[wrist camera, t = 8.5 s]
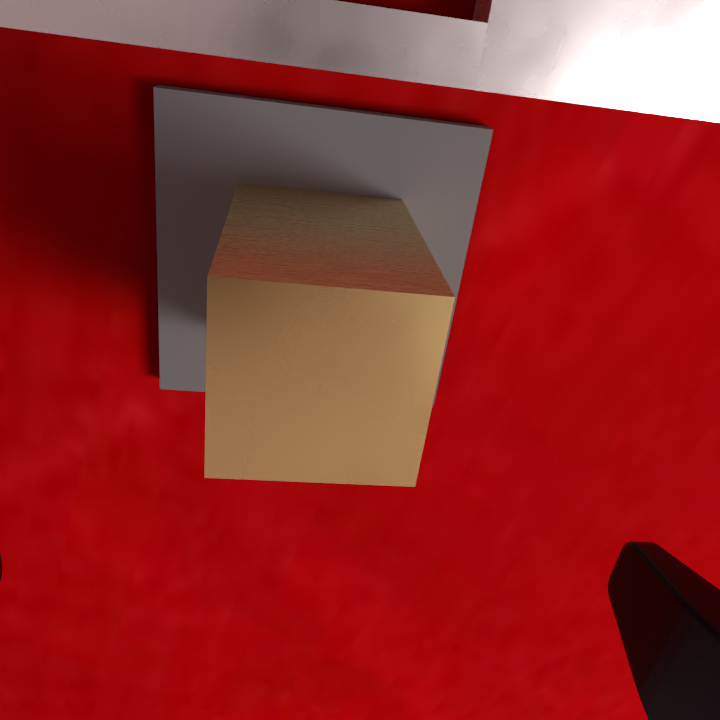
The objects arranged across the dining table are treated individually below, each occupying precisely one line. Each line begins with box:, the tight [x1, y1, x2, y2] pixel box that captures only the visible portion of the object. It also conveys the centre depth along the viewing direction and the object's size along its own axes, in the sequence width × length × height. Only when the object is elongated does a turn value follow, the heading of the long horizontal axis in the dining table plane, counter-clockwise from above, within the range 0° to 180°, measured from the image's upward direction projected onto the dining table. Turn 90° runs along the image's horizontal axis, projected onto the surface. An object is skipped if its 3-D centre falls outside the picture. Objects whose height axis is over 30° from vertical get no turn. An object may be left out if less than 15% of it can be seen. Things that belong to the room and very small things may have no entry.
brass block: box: [205, 182, 455, 487], centre depth 16 cm, size 5×5×7 cm
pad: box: [153, 85, 493, 406], centre depth 19 cm, size 9×9×1 cm
